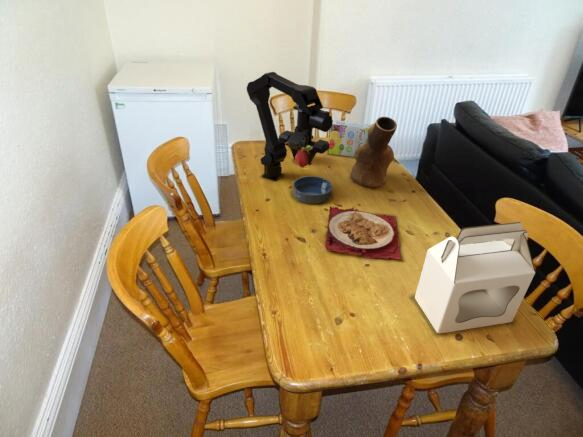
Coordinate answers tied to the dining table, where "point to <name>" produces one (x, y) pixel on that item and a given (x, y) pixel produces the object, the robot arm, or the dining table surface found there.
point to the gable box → (476, 277)
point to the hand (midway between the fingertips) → (302, 162)
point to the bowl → (312, 189)
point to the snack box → (347, 137)
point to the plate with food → (362, 233)
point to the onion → (302, 158)
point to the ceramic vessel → (374, 154)
